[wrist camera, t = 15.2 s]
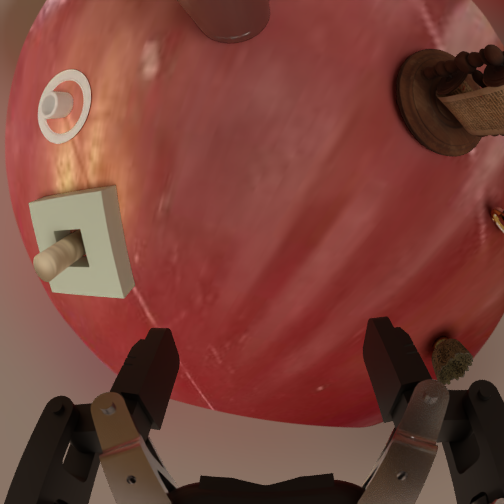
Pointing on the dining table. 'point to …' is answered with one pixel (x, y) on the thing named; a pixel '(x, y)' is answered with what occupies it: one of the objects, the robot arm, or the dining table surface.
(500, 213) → the ring
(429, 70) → the scroll
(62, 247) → the birch peg
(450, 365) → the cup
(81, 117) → the candle holder
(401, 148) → the dining table surface
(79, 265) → the square hole plate
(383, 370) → the robot arm
